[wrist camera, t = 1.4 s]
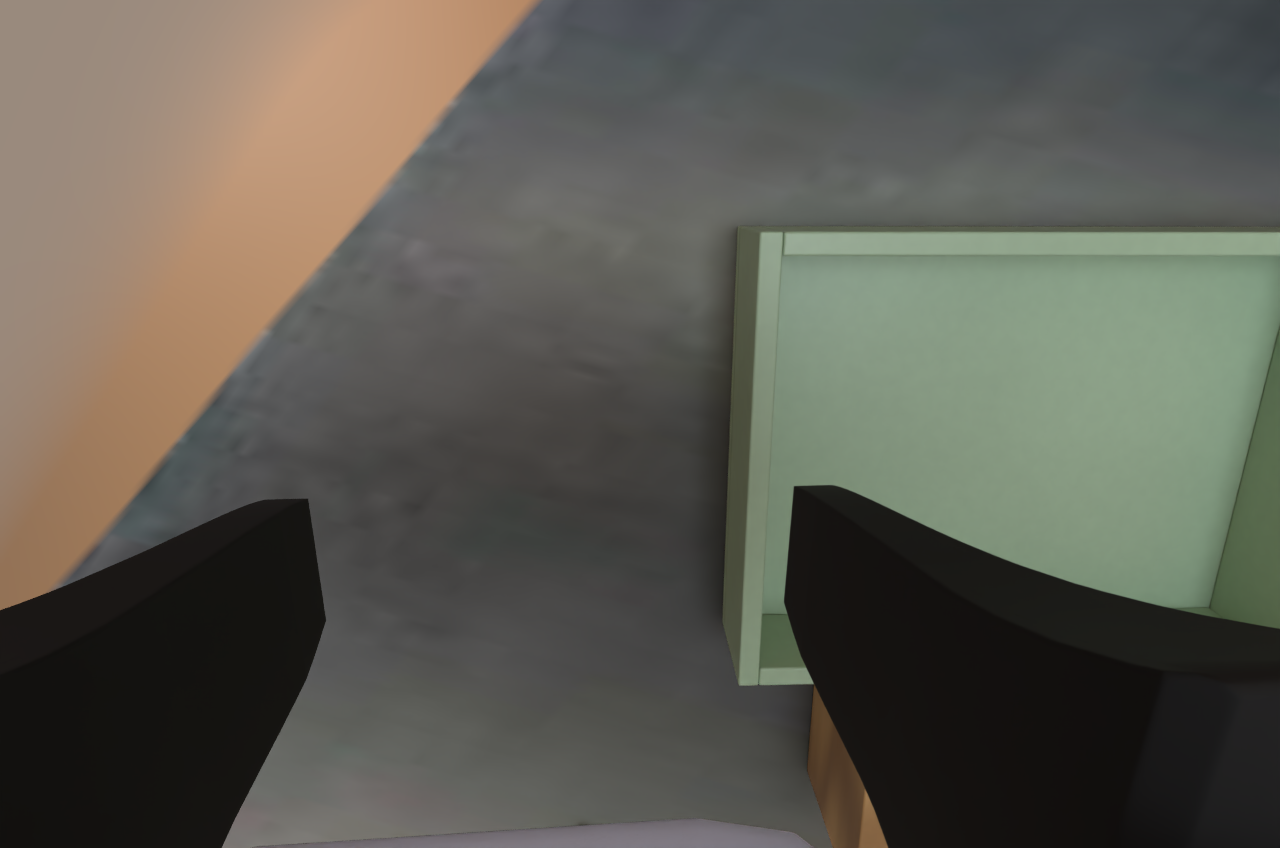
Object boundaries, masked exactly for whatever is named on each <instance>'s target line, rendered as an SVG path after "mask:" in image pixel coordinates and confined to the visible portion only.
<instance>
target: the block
mask: <svg viewBox="0 0 1280 848" xmlns="http://www.w3.org/2000/svg"><path fill="white" fill-rule="evenodd" d="M807 772H808V775H809V778H810V781H811V784H812V787H813V790H814V793H815V796H816V798H817V801H818V804H819V807H820V810H821V813H822V816H823V819H824V822H825V825H826V828H827V831H828V834H829V837H830V840H831V843H832V846H833V848H888V846H887V843H886V840H885V838H884V835H883V832H882V830H881V827H880V824H879V821H878V819H877V816H876V813H875V811H874V808H873V806H872V803H871V801H870V799H869V797H868V794H867V792H866V790H865V787H864V785H863V783H862V781H861V778H860V776H859V774H858V772H857V770H856V768H855V766H854V764H853V762H852V760H851V758H850V756H849V754H848V752H847V750H846V748H845V746H844V744H843V742H842V740H841V738H840V736H839V734H838V732H837V730H836V728H835V726H834V724H833V722H832V720H831V718H830V716H829V714H828V712H827V710H826V708H825V706H824V704H823V701H822V699H821V697H820V695H819V693H818V691H817V689H816V687H815V685H814V691H813V703H812V716H811V728H810V741H809V753H808V765H807Z"/></svg>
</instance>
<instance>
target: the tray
mask: <svg viewBox="0 0 1280 848" xmlns="http://www.w3.org/2000/svg"><path fill="white" fill-rule="evenodd" d="M811 485H835V486H839V487H842V488H845V489H848V490H850V491H853V492H855V493H857V494H860V495H862V496H864V497H866V498H869V499H871V500H873V501H875V502H877V503H879V504H881V505H883V506H886V507H888V508H890V509H892V510H894V511H896V512H898V513H900V514H902V515H904V516H906V517H909V518H911V519H913V520H915V521H917V522H919V523H921V524H923V525H925V526H928V527H930V528H932V529H934V530H936V531H938V532H941V533H943V534H945V535H947V536H950V537H952V538H954V539H956V540H959V541H961V542H963V543H966V544H968V545H971V546H973V547H975V548H978V549H980V550H983V551H985V552H988V553H990V554H992V555H995V556H997V557H1000V558H1002V559H1005V560H1008V561H1010V562H1013V563H1016V564H1019V565H1021V566H1024V567H1027V568H1030V569H1033V570H1036V571H1039V572H1042V573H1045V574H1048V575H1051V576H1054V577H1057V578H1060V579H1063V580H1066V581H1069V582H1073V583H1076V584H1079V585H1083V586H1086V587H1090V588H1093V589H1097V590H1100V591H1104V592H1108V593H1112V594H1116V595H1119V596H1123V597H1127V598H1131V599H1135V600H1139V601H1143V602H1147V603H1151V604H1155V605H1159V606H1164V607H1168V608H1173V609H1177V610H1182V611H1187V612H1192V613H1196V614H1201V615H1206V616H1211V617H1217V618H1222V619H1228V620H1234V621H1239V622H1245V623H1250V624H1256V625H1261V626H1267V627H1273V628H1279V629H1280V227H1102V226H739V227H738V229H737V255H736V281H735V306H734V332H733V358H732V384H731V410H730V436H729V462H728V488H727V514H726V540H725V565H724V591H723V617H722V622H723V626H724V630H725V634H726V638H727V642H728V646H729V650H730V653H731V657H732V661H733V665H734V669H735V673H736V677H737V681H738V684H739V685H740V686H748V685H758V683H759V685H795V684H814V683H813V681H812V679H811V677H810V675H809V672H808V670H807V668H806V666H805V664H804V662H803V660H802V658H801V655H800V652H799V649H798V646H797V643H796V640H795V637H794V634H793V631H792V628H791V624H790V621H789V618H788V614H787V611H786V608H785V604H784V593H785V582H786V570H787V559H788V547H789V536H790V525H791V513H792V502H793V490H794V486H811Z"/></svg>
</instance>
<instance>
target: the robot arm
mask: <svg viewBox="0 0 1280 848" xmlns="http://www.w3.org/2000/svg"><path fill="white" fill-rule="evenodd" d="M784 604H785V608H786V611H787V614H788V618H789V621H790V624H791V628H792V631H793V634H794V637H795V640H796V643H797V646H798V649H799V652H800V655H801V658H802V660H803V662H804V664H805V666H806V668H807V670H808V672H809V675H810V677H811V679H812V681H813V683H814V685H815V687H816V689H817V691H818V693H819V695H820V697H821V699H822V701H823V704H824V706H825V708H826V710H827V712H828V714H829V716H830V718H831V720H832V722H833V724H834V726H835V728H836V730H837V732H838V734H839V736H840V738H841V740H842V742H843V744H844V746H845V748H846V750H847V752H848V754H849V756H850V758H851V760H852V762H853V764H854V766H855V768H856V770H857V772H858V774H859V776H860V778H861V781H862V783H863V785H864V787H865V790H866V792H867V794H868V797H869V799H870V801H871V803H872V806H873V808H874V811H875V813H876V816H877V819H878V821H879V824H880V827H881V830H882V832H883V835H884V838H885V840H886V843H887V846H888V848H1280V629H1279V628H1273V627H1267V626H1261V625H1256V624H1250V623H1245V622H1239V621H1234V620H1228V619H1222V618H1217V617H1211V616H1206V615H1201V614H1196V613H1192V612H1187V611H1182V610H1177V609H1173V608H1168V607H1164V606H1159V605H1155V604H1151V603H1147V602H1143V601H1139V600H1135V599H1131V598H1127V597H1123V596H1119V595H1116V594H1112V593H1108V592H1104V591H1100V590H1097V589H1093V588H1090V587H1086V586H1083V585H1079V584H1076V583H1073V582H1069V581H1066V580H1063V579H1060V578H1057V577H1054V576H1051V575H1048V574H1045V573H1042V572H1039V571H1036V570H1033V569H1030V568H1027V567H1024V566H1021V565H1019V564H1016V563H1013V562H1010V561H1008V560H1005V559H1002V558H1000V557H997V556H995V555H992V554H990V553H988V552H985V551H983V550H980V549H978V548H975V547H973V546H971V545H968V544H966V543H963V542H961V541H959V540H956V539H954V538H952V537H950V536H947V535H945V534H943V533H941V532H938V531H936V530H934V529H932V528H930V527H928V526H925V525H923V524H921V523H919V522H917V521H915V520H913V519H911V518H909V517H906V516H904V515H902V514H900V513H898V512H896V511H894V510H892V509H890V508H888V507H886V506H883V505H881V504H879V503H877V502H875V501H873V500H871V499H869V498H866V497H864V496H862V495H860V494H857V493H855V492H853V491H850V490H848V489H845V488H842V487H839V486H835V485H811V486H794V490H793V502H792V513H791V525H790V536H789V547H788V559H787V570H786V582H785V593H784ZM325 622H326V617H325V611H324V604H323V597H322V590H321V583H320V577H319V570H318V563H317V556H316V550H315V543H314V536H313V529H312V523H311V516H310V509H309V502H308V499H276V500H262V501H258V502H255V503H252V504H249V505H246V506H243V507H241V508H238V509H236V510H234V511H231V512H229V513H226V514H224V515H222V516H220V517H218V518H215V519H213V520H211V521H209V522H207V523H204V524H202V525H200V526H198V527H196V528H194V529H192V530H189V531H187V532H185V533H183V534H181V535H179V536H177V537H174V538H172V539H170V540H168V541H166V542H164V543H162V544H159V545H157V546H155V547H153V548H151V549H149V550H147V551H144V552H142V553H140V554H138V555H135V556H133V557H131V558H129V559H126V560H124V561H122V562H119V563H117V564H115V565H112V566H110V567H108V568H105V569H103V570H101V571H99V572H96V573H94V574H92V575H89V576H87V577H85V578H82V579H80V580H78V581H75V582H73V583H71V584H69V585H66V586H64V587H61V588H59V589H56V590H54V591H51V592H49V593H46V594H43V595H41V596H38V597H36V598H33V599H30V600H28V601H25V602H22V603H20V604H17V605H14V606H11V607H9V608H5V609H3V610H0V848H222V846H223V844H224V841H225V839H226V837H227V835H228V833H229V831H230V828H231V826H232V824H233V822H234V820H235V818H236V816H237V814H238V812H239V810H240V808H241V806H242V804H243V802H244V800H245V798H246V796H247V794H248V793H249V791H250V789H251V787H252V785H253V783H254V781H255V779H256V777H257V775H258V773H259V771H260V769H261V767H262V765H263V764H264V762H265V760H266V758H267V756H268V754H269V752H270V750H271V748H272V746H273V744H274V742H275V740H276V738H277V736H278V735H279V733H280V731H281V729H282V727H283V725H284V723H285V721H286V719H287V717H288V715H289V713H290V711H291V709H292V707H293V705H294V703H295V701H296V699H297V697H298V695H299V693H300V691H301V689H302V687H303V685H304V683H305V681H306V679H307V676H308V673H309V670H310V667H311V665H312V662H313V659H314V656H315V653H316V650H317V647H318V644H319V641H320V638H321V634H322V631H323V628H324V625H325ZM252 848H814V847H813V846H811V845H810V844H809V843H807V842H806V841H805V840H804V839H802V838H801V837H800V836H798V835H797V834H796V833H793V832H788V831H782V830H776V829H769V828H762V827H755V826H748V825H741V824H734V823H727V822H720V821H713V820H707V819H700V818H687V819H672V820H657V821H641V822H626V823H611V824H595V825H580V826H564V827H549V828H534V829H518V830H503V831H488V832H472V833H457V834H441V835H426V836H411V837H395V838H380V839H364V840H349V841H334V842H318V843H303V844H288V845H272V846H257V847H252Z"/></svg>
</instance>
